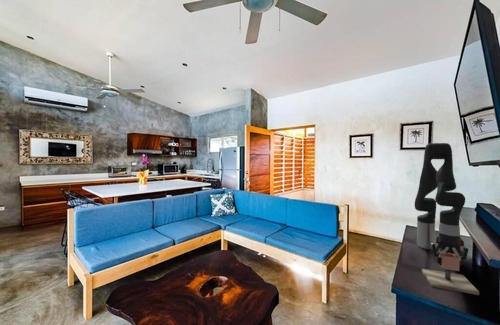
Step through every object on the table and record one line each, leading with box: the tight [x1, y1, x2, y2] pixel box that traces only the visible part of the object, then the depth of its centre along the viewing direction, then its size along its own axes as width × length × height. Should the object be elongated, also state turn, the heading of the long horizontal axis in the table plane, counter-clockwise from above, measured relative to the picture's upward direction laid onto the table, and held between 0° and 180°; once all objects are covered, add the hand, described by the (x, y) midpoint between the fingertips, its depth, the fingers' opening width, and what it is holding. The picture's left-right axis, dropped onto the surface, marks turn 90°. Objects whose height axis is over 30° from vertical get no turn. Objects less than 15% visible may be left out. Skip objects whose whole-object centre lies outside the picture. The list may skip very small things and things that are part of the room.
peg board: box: [421, 268, 480, 296], centre depth 105 cm, size 14×17×10 cm
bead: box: [439, 253, 461, 272], centre depth 104 cm, size 6×6×6 cm
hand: (448, 265), depth 104 cm, fingers closed on bead, 6 cm apart
